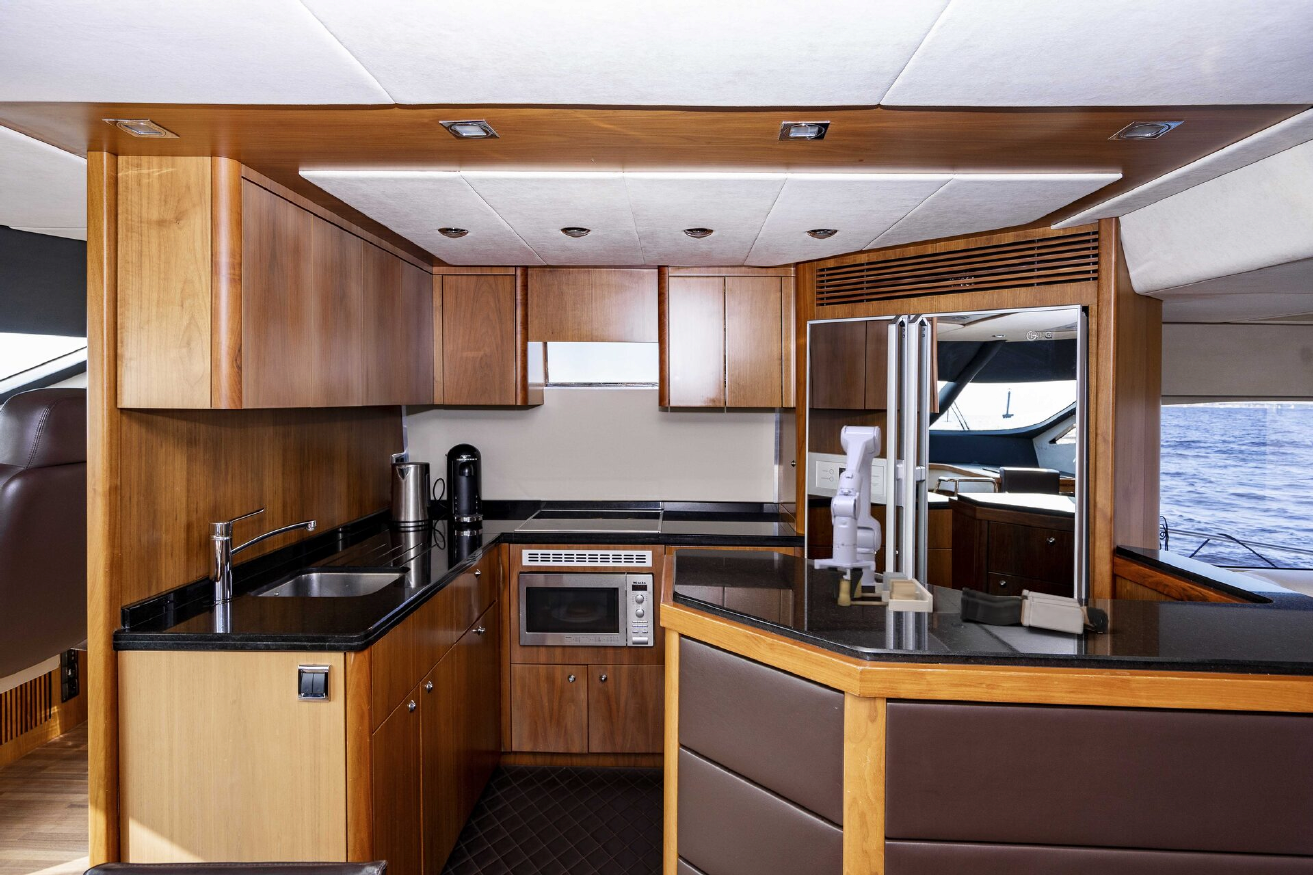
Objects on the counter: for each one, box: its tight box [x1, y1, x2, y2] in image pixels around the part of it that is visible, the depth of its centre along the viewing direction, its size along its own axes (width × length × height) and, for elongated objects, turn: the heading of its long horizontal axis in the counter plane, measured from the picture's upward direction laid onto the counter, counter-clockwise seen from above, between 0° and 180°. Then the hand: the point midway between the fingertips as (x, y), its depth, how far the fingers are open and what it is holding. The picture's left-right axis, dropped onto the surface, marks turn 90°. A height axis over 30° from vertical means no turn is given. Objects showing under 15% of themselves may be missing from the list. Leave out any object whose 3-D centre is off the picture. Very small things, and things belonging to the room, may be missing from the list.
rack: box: [874, 577, 934, 613], centre depth 183 cm, size 17×10×4 cm, turn 174°
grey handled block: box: [849, 571, 909, 599], centre depth 188 cm, size 5×14×6 cm, turn 84°
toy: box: [959, 587, 1110, 635], centre depth 166 cm, size 19×7×30 cm
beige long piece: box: [837, 578, 916, 607], centre depth 180 cm, size 5×18×6 cm, turn 85°
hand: (843, 597), depth 181 cm, fingers open, 3 cm apart
